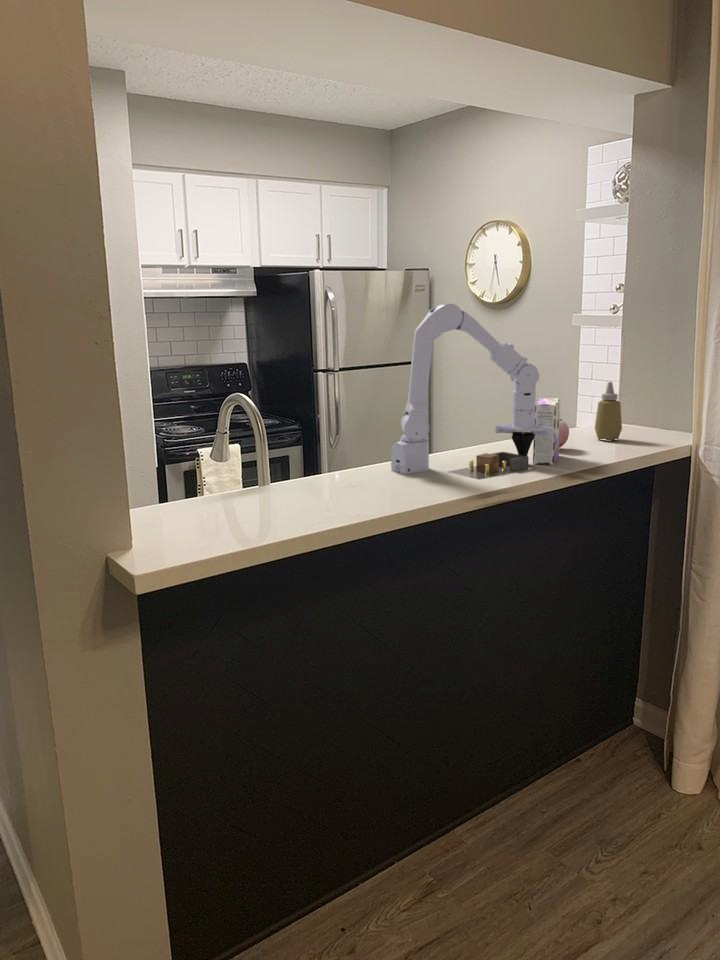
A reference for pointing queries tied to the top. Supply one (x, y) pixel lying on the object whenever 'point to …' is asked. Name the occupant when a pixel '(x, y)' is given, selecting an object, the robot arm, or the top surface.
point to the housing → (513, 460)
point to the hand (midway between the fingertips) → (523, 461)
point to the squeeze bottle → (608, 415)
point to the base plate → (478, 475)
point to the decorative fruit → (563, 433)
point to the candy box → (546, 444)
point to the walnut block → (487, 462)
